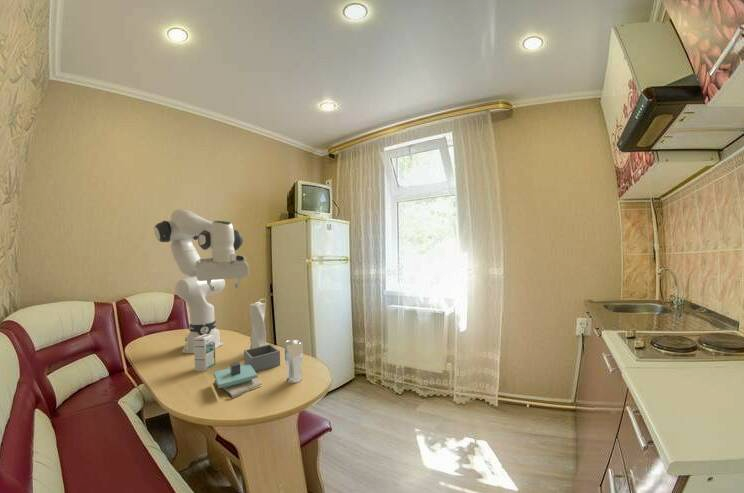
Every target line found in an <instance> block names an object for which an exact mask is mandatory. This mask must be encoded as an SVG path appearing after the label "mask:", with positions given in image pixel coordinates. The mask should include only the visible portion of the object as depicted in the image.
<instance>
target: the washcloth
mask: <svg viewBox="0 0 744 493" xmlns="http://www.w3.org/2000/svg"><path fill="white" fill-rule="evenodd" d="M214 383H215V384H216V385H217V382H216V379H214ZM262 386H263V384H262V381H260V380H258V379H257V378H255V379H252V381H248V382H245V383H241V384H237V385H234V386H230V387H226V388H223V387H221V388H222V389H223V390H225V392H226V393H227V394H229V395H230V396H229V398H230V399H231V400H232V399H235V398H238V397H240V396H242V395H244V394H247V393H249V392H252V391H255V390H257V389H259V388H261V387H262Z"/></svg>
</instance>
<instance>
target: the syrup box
mask: <svg viewBox="0 0 744 493" xmlns="http://www.w3.org/2000/svg"><path fill="white" fill-rule="evenodd" d="M193 354H194V371H196V372H208V370H209V369H211V368H212V367H214V366H216V349H215V339H214V335H213V334H204V335H202V336H199V337H196V338H194V353H193Z"/></svg>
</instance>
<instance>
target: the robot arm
mask: <svg viewBox="0 0 744 493" xmlns="http://www.w3.org/2000/svg"><path fill="white" fill-rule="evenodd" d="M233 226H234V225H233V223H231V221H225V220H215V221H211V220H208V219H206V218H204V217H202V216H200V215H198V214H196V213H194V212H193V211H191V210H188V209H184V208H178V209H175V210H174V211H173V212H172V213H171V215H170V220H163V221H160V222H158V223H156V224H155V226H154V228H153V234H154V236H155V238H156V239H157V241H159V242H161V243H169V242H171V243H170V249H171V254H172V256H173V258H174V260H175V262H176V265H177V267H178V268H179V271H180V272H181V273H182V274H184V275H186V276H188V277H186V278H183V279H180V280H178V281H177V282H176V285H175V287H174V289H175V290H174V291H175V294H176V295H177V296H178V298H180V299H182V300H183V301H184V302H185V303H186V305H187V306H188V310H189V318H190V319H189V320H190V322H189V333H188V334H187V335H186V336H185V338H184V342H186V343H185V344H184V347H183V348H182V352H181V354H194V338H196V337H199V336H202V335H204V334H213V335H214V339H215V350H216V349H218V348H219V347H221V346H223V345H224V342H223V341H220V340H221V339H220V331H219V329H217V328H216V327H217V326H216V325H217V322H216V320H215V316H216V315H215V306H214V305H213V304H212V303H210V302H208V301H207V299H206V296H211V295H216V294H218V293H220V292H222V291H223V290H224V289H225V287H226V280H231V279H235V280H236V283H233V289H239V284H240V282H241V281H242V279H243V278H249V276H250V267H249V263H248V262H247V257H246V256H245V255H241V254H237V253H235V252H236V251H238V250H239V249H240V247H242V245H243V241H244V240H243V235H242V234H241V233H240V232H239V231H238V230H237V229H234V227H233ZM193 240H194V241H197V242H198V246H199V247H200V248H201V249H202V250H203V251H208V252H209V251H210V252H211V257H209V258H201V256H200V254H199V253H198V250H197V249H196V247H195V245H194V243H193Z"/></svg>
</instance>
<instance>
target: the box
mask: <svg viewBox="0 0 744 493" xmlns="http://www.w3.org/2000/svg"><path fill="white" fill-rule="evenodd" d="M249 363H250V365H251V366H252V368H253V369H254V371H255V372H256V373H257V372H261V371H265V370H267V369H268V370H269V369H271V368H272V369H273V368H274V367H275V368H276V367H279V366H281V352H280V350H279V349H278V348H277V347H276V346H274V345H272V344H271V343H270V344H266V345H265V346H261V347H256V348H252V349H250V348H249V349H245V350H243V365H245V364H249Z"/></svg>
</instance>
